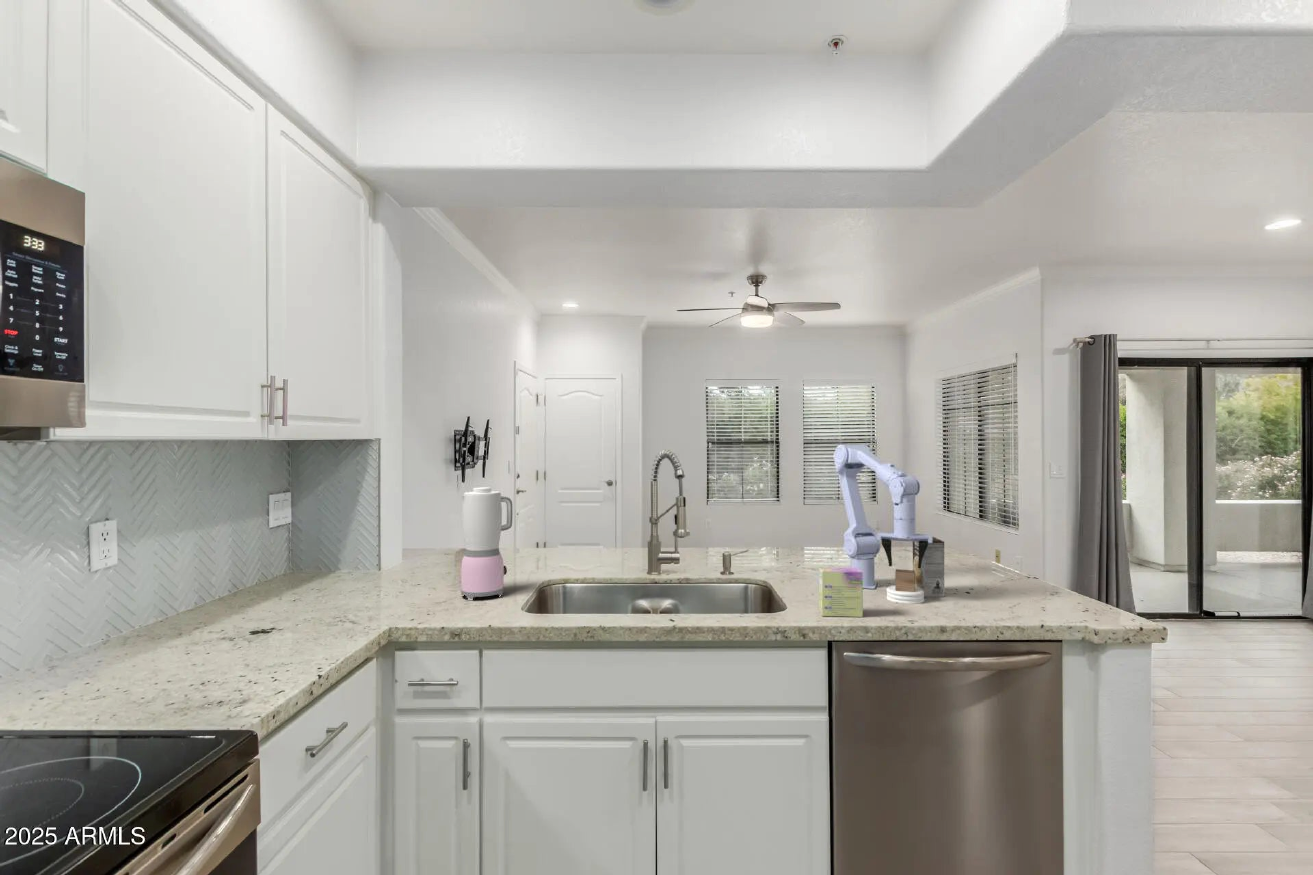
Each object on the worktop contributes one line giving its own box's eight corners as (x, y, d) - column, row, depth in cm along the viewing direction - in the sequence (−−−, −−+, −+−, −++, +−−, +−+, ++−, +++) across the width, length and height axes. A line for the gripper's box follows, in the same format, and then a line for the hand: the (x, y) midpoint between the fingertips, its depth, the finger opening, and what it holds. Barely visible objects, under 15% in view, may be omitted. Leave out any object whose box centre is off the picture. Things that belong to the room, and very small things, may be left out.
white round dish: (885, 603, 184) (885, 591, 184) (887, 595, 193) (887, 583, 193) (924, 606, 180) (924, 594, 180) (924, 598, 190) (924, 586, 190)
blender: (468, 603, 187) (467, 490, 187) (455, 594, 197) (454, 487, 197) (520, 595, 196) (520, 487, 196) (505, 587, 206) (504, 485, 206)
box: (858, 611, 175) (858, 567, 175) (863, 617, 169) (862, 571, 169) (818, 610, 176) (818, 566, 176) (821, 616, 170) (821, 570, 170)
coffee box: (911, 589, 199) (911, 536, 199) (933, 589, 199) (932, 536, 199) (923, 596, 190) (923, 541, 190) (945, 596, 190) (945, 541, 190)
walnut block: (896, 586, 190) (896, 569, 190) (914, 587, 188) (914, 570, 188) (895, 590, 185) (895, 572, 185) (914, 591, 183) (914, 573, 183)
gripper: (876, 519, 186) (876, 567, 186) (932, 521, 180) (932, 571, 180) (878, 516, 192) (878, 562, 192) (932, 518, 187) (932, 566, 187)
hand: (904, 566), depth 187 cm, fingers open, 7 cm apart
